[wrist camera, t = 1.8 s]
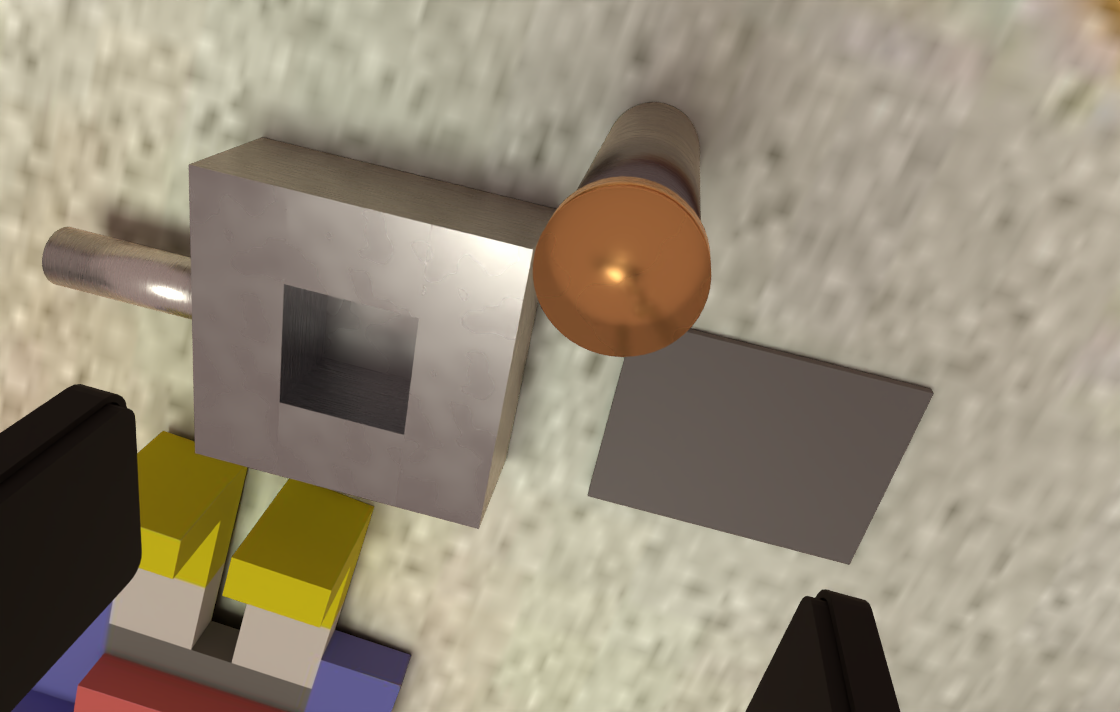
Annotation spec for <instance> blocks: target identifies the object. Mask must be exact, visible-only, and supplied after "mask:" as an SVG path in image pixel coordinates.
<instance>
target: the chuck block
mask: <svg viewBox="0 0 1120 712" xmlns="http://www.w3.org/2000/svg"><path fill="white" fill-rule="evenodd" d="M189 201H190V246H191V257H187V256H183V255H179V254H175V253H171V252H167V251H163V250H159V249H155V248H151V247H147V246H143V245H139V244H135V243H131V242H128V241H124V240H120V239H116V238H112V237H108V236H104V235H100V234H96V233H92V232H88V231H84V230H80V229H76V228H72V227H64V228H61V229H59V230H57V231H56V232H55V233H54V234H53V235H52V236H51V237H50V238H49V240H48V242H47V243H46V246H45V248H44V252H43V257H42V267H43V271H44V274H45V276H46V278H47V279H48V280H49V281H50V282H51V283H53V284H56V285H60V286H64V287H68V288H71V289H75V290H79V291H83V292H87V293H91V294H95V295H99V296H102V297H106V298H110V299H114V300H118V301H122V302H126V303H130V304H133V305H137V306H141V307H145V308H149V309H153V310H157V311H161V312H165V313H168V314H172V315H176V316H180V317H184V318H188V319H192V337H193V382H194V427H195V453H196V454H200V455H204V456H207V457H211V458H215V459H219V460H222V461H226V462H230V463H234V464H237V465H241V466H245V467H249V468H252V469H256V470H260V471H264V472H267V473H271V474H275V475H279V476H282V477H286V478H290V479H294V480H297V481H301V482H305V483H309V484H312V485H316V486H320V487H324V488H327V489H331V490H335V491H339V492H342V493H346V494H350V495H354V496H357V497H361V498H365V499H369V500H372V501H376V502H380V503H384V504H387V505H391V506H395V507H399V508H402V509H406V510H410V511H414V512H417V513H421V514H425V515H429V516H432V517H436V518H440V519H444V520H447V521H451V522H455V523H459V524H462V525H466V526H470V527H474V528H477V529H479V527H480V525H481V522H482V520H483V517H484V514H485V512H486V509H487V507H488V504H489V502H490V499H491V497H492V494H493V492H494V489H495V487H496V484H497V482H498V479H499V476H500V474H501V471H502V469H503V466H504V464H505V461H506V458H507V453H508V448H509V443H510V438H511V433H512V428H513V423H514V418H515V414H516V409H517V404H518V399H519V394H520V389H521V384H522V379H523V374H524V369H525V365H526V360H527V355H528V350H529V345H530V340H531V335H532V330H533V325H534V321H535V316H536V311H537V306H538V298H537V295H536V292H535V288H534V282H533V259H534V253H535V249H536V246H537V243H538V240H539V238H540V236H541V234H542V232H543V230H544V229H545V227H546V225H547V224H548V222H549V220H550V219H551V217H552V215H553V214H554V212H555V211H556V209H554V208H550V207H546V206H542V205H538V204H534V203H530V202H526V201H522V200H517V199H513V198H509V197H505V196H501V195H497V194H493V193H489V192H485V191H481V190H476V189H472V188H468V187H464V186H460V185H456V184H452V183H448V182H444V181H440V180H435V179H431V178H427V177H423V176H419V175H415V174H411V173H407V172H403V171H399V170H395V169H390V168H386V167H382V166H378V165H374V164H370V163H366V162H362V161H358V160H354V159H349V158H345V157H341V156H337V155H333V154H329V153H325V152H321V151H317V150H313V149H308V148H304V147H300V146H296V145H292V144H288V143H284V142H280V141H276V140H272V139H268V138H263V137H261V138H259V139H256V140H253V141H251V142H248V143H245V144H243V145H240V146H237V147H234V148H232V149H229V150H226V151H224V152H221V153H218V154H216V155H213V156H210V157H208V158H205V159H202V160H199V161H197V162H194V163H191V164H189Z"/></svg>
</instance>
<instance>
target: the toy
mask: <svg viewBox="0 0 1120 712" xmlns="http://www.w3.org/2000/svg"><path fill="white" fill-rule="evenodd" d="M137 463H138V483H139V503H140V523H141V543H142V558H141V562H140V565H139V568H138V570H137V572H136V574H135V576H134V577H133V578H132V580H131V581H130V582H129V583H128V584H127V586H126V587H125V588H124V589H123V590H122V591H121V592H120V593H119V594H118V595H117V597H116V598H115V599H114V600H113V601H112V602H111V603H110V604H109V605H108V606H107V607H106V609H105V610H104V611H103V612H102V613H101V614H100V615H99V616H98V617H97V618H96V619H95V621H94V622H93V623H92V624H91V625H90V626H89V627H88V628H87V629H86V630H85V631H84V633H83V634H82V635H81V636H80V637H79V638H78V639H77V640H76V641H75V642H74V643H73V645H72V646H71V647H70V648H69V649H68V650H67V651H66V652H65V653H64V654H63V655H62V657H61V658H60V659H59V660H58V661H57V662H56V663H55V664H54V665H53V666H52V667H51V669H50V670H49V671H48V672H47V673H46V674H45V675H44V676H43V677H42V678H41V679H40V681H39V682H38V683H37V684H36V685H35V686H34V687H33V688H32V689H31V690H30V691H29V693H28V694H27V695H26V696H25V697H24V698H23V699H22V700H21V701H20V702H19V703H18V705H17V706H16V707H15V708H14V709H13V710H12V711H11V712H391V711H392V708H393V706H394V703H395V700H396V698H397V695H398V693H399V690H400V687H401V685H402V682H403V679H404V676H405V672H406V669H407V666H408V663H409V660H410V657H411V655H409V654H406V653H403V652H400V651H397V650H394V649H391V648H388V647H385V646H382V645H379V644H376V643H373V642H370V641H367V640H364V639H361V638H358V637H355V636H352V635H349V634H346V633H343V632H340V631H337V630H335V628H336V625H337V622H338V619H339V616H340V612H341V609H342V606H343V603H344V600H345V597H346V594H347V591H348V588H349V585H350V582H351V579H352V575H353V572H354V569H355V566H356V563H357V560H358V557H359V554H360V551H361V548H362V544H363V541H364V538H365V535H366V532H367V528H368V525H369V522H370V519H371V516H372V512H373V509H374V506H371V505H369V504H366V503H363V502H361V501H358V500H356V499H353V498H351V497H348V496H346V495H343V494H340V493H338V492H335V491H333V490H330V489H327V488H324V487H320V486H316V485H312V484H309V483H305V482H301V481H297V480H294V479H290V478H289V479H288V481H287V482H286V484H285V485H284V486H283V488H282V489H281V490H280V492H279V493H278V494H277V496H276V497H275V499H274V500H273V501H272V503H271V504H270V505H269V507H268V508H267V510H266V511H265V512H264V514H263V515H262V516H261V518H260V519H259V520H258V522H257V523H256V525H255V526H254V527H253V529H252V530H251V531H250V533H249V534H248V535H247V537H246V538H245V540H244V541H243V542H242V544H241V545H240V546H239V548H238V549H237V551H236V552H235V553H234V555H233V556H232V558H231V562H230V566H229V570H228V574H227V578H226V582H225V587H224V591H223V595H222V596H225V597H228V598H231V599H234V600H237V601H240V602H243V603H246V604H247V605H246V609H245V613H244V617H243V621H242V624H241V628H240V630H238V629H235V628H232V627H229V626H226V625H223V624H220V623H217V622H213V621H211V619H212V615H213V611H214V606H215V602H216V598H217V594H218V590H219V585H220V581H221V577H222V573H223V569H224V564H225V560H226V556H227V552H228V548H229V543H230V539H231V535H232V531H233V527H234V522H235V518H236V514H237V510H238V506H239V501H240V497H241V493H242V489H243V485H244V480H245V476H246V472H247V468H248V467H245V466H241V465H237V464H234V463H230V462H226V461H222V460H219V459H215V458H211V457H207V456H204V455H200V454H196V453H195V441H192V440H189V439H186V438H183V437H180V436H177V435H174V434H171V433H169V432H166V431H162V432H161V433H160V434H159V435H158V436H157V437H155V438H154V439H153V440H152V441H151V442H150V443H149V444H148V445H146V446H145V447H144V448H143V449H142V450H141V451H140V452H138V453H137Z"/></svg>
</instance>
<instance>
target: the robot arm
mask: <svg viewBox="0 0 1120 712" xmlns="http://www.w3.org/2000/svg"><path fill="white" fill-rule="evenodd" d="M141 558H142V543H141V523H140V503H139V483H138V463H137V443H136V423H135V415H134V413H133V411H132V410H130V409H128V408H127V407H126V402H125V400H124V399H123V397H122V396H120V395H118V394H114V393H110V392H107V391H103V390H100V389H96V388H92V387H89V386H85V385H81V384H77V385H73V386H70V387H68V388H67V389H65V390H64V391H62V392H61V393H59V394H58V395H56V396H55V397H53V398H52V399H50V400H49V401H47V402H46V403H44V404H43V405H41V406H40V407H38V408H37V409H35V410H34V411H32V412H31V413H29V414H28V415H26V416H25V417H23V418H22V419H20V420H19V421H17V422H16V423H15V424H13V425H12V426H10V427H9V428H7V429H6V430H4V431H3V432H1V433H0V712H11V711H12V710H13V709H14V708H15V707H16V706H17V705H18V703H19V702H20V701H21V700H22V699H23V698H24V697H25V696H26V695H27V694H28V693H29V691H30V690H31V689H32V688H33V687H34V686H35V685H36V684H37V683H38V682H39V681H40V679H41V678H42V677H43V676H44V675H45V674H46V673H47V672H48V671H49V670H50V669H51V667H52V666H53V665H54V664H55V663H56V662H57V661H58V660H59V659H60V658H61V657H62V655H63V654H64V653H65V652H66V651H67V650H68V649H69V648H70V647H71V646H72V645H73V643H74V642H75V641H76V640H77V639H78V638H79V637H80V636H81V635H82V634H83V633H84V631H85V630H86V629H87V628H88V627H89V626H90V625H91V624H92V623H93V622H94V621H95V619H96V618H97V617H98V616H99V615H100V614H101V613H102V612H103V611H104V610H105V609H106V607H107V606H108V605H109V604H110V603H111V602H112V601H113V600H114V599H115V598H116V597H117V595H118V594H119V593H120V592H121V591H122V590H123V589H124V588H125V587H126V586H127V584H128V583H129V582H130V581H131V580H132V578H133V577H134V576H135V574H136V572H137V570H138V568H139V565H140V562H141ZM746 712H900V709H899V705H898V702H897V698H896V695H895V691H894V687H893V684H892V680H891V677H890V673H889V669H888V666H887V662H886V659H885V655H884V651H883V648H882V644H881V641H880V637H879V633H878V630H877V626H876V623H875V619H874V616H873V612H872V609H871V607H870V604H869V603H868V602H867V601H866V600H862V599H859V598H855V597H851V596H848V595H844V594H840V593H837V592H833V591H830V590H821V591H820V592H819V593H818V594H817V596H816V597H815V598H813V597H809V596H805V597H804V598H803V599H802V600H801V602H800V604H799V606H798V608H797V610H796V612H795V614H794V616H793V618H792V620H791V622H790V624H789V626H788V628H787V630H786V632H785V634H784V636H783V638H782V640H781V642H780V644H779V646H778V648H777V650H776V652H775V654H774V656H773V658H772V660H771V662H770V664H769V666H768V668H767V670H766V672H765V674H764V676H763V678H762V680H761V682H760V684H759V686H758V688H757V690H756V692H755V694H754V696H753V698H752V700H751V702H750V704H749V706H748V708H747V710H746Z"/></svg>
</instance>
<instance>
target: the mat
mask: <svg viewBox="0 0 1120 712" xmlns="http://www.w3.org/2000/svg"><path fill="white" fill-rule="evenodd" d="M933 394H934V393H933V392H932V390H931V389H929V388H925V387H921V386H917V385H913V384H909V383H905V382H901V381H897V380H893V379H889V378H885V377H881V376H877V375H873V374H869V373H865V372H861V371H857V370H853V369H849V368H845V367H841V366H837V365H833V364H829V363H825V362H821V361H817V360H813V359H809V358H805V357H801V356H797V355H793V354H789V353H785V352H781V351H777V350H773V349H769V348H765V347H761V346H757V345H753V344H749V343H745V342H741V341H737V340H733V339H729V338H725V337H721V336H717V335H713V334H709V333H705V332H701V331H697V330H693V329H689V330H688V331H687V332H686V333H685V334H684V335H683V336H681V337H680V338H679V339H678V340H676V341H675V342H673V343H672V344H670V345H668V346H666V347H665V348H662V349H660V350H658V351H655V352H652V353H648V354H645V355H639V356H632V357H625V358H624V362H623V366H622V370H621V373H620V377H619V381H618V384H617V388H616V392H615V395H614V399H613V403H612V407H611V410H610V414H609V418H608V421H607V425H606V429H605V432H604V436H603V440H602V443H601V447H600V451H599V455H598V458H597V462H596V466H595V469H594V473H593V477H592V480H591V484H590V488H589V492H588V496H590V497H593V498H597V499H601V500H605V501H609V502H612V503H616V504H620V505H624V506H628V507H631V508H635V509H639V510H643V511H647V512H650V513H654V514H658V515H662V516H666V517H669V518H673V519H677V520H681V521H685V522H689V523H692V524H696V525H700V526H704V527H708V528H711V529H715V530H719V531H723V532H727V533H730V534H734V535H738V536H742V537H746V538H749V539H753V540H757V541H761V542H765V543H768V544H772V545H776V546H780V547H784V548H787V549H791V550H795V551H799V552H803V553H807V554H810V555H814V556H818V557H822V558H826V559H829V560H833V561H837V562H841V563H845V564H848V565H850V563H851V561H852V559H853V556H854V554H855V552H856V550H857V548H858V546H859V544H860V542H861V540H862V538H863V536H864V534H865V532H866V530H867V528H868V526H869V524H870V522H871V520H872V518H873V516H874V514H875V512H876V510H877V508H878V506H879V504H880V502H881V500H882V498H883V496H884V493H885V491H886V489H887V487H888V485H889V483H890V481H891V479H892V477H893V475H894V473H895V471H896V469H897V467H898V465H899V463H900V461H901V459H902V457H903V455H904V453H905V451H906V449H907V447H908V445H909V443H910V441H911V439H912V437H913V435H914V433H915V430H916V428H917V426H918V424H919V422H920V420H921V418H922V416H923V414H924V412H925V410H926V408H927V406H928V404H929V402H930V400H931V398H932V396H933Z"/></svg>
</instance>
